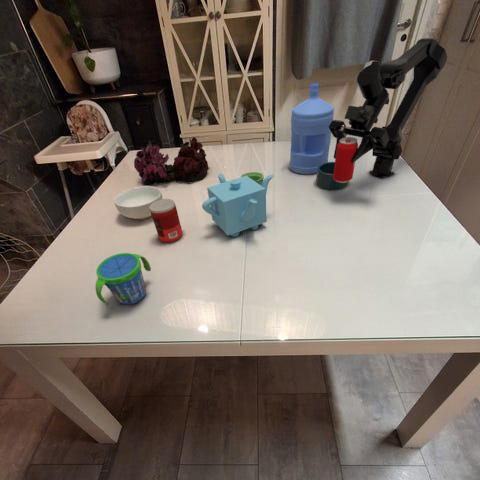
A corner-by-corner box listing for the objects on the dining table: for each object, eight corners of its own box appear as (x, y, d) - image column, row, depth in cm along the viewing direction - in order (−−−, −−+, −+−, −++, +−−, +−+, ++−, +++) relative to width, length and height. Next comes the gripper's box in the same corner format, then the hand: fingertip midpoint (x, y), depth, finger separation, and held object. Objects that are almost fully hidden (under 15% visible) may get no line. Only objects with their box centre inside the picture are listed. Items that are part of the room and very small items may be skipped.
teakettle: (204, 238, 95) (195, 193, 84) (223, 209, 107) (217, 166, 96) (261, 244, 91) (259, 197, 80) (274, 213, 102) (274, 168, 91)
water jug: (300, 158, 133) (304, 78, 112) (333, 163, 126) (344, 79, 105) (282, 171, 125) (284, 88, 104) (317, 177, 118) (325, 90, 97)
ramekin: (268, 187, 116) (268, 175, 113) (250, 195, 113) (250, 183, 109) (254, 180, 121) (253, 169, 118) (236, 188, 118) (235, 177, 115)
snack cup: (119, 322, 73) (101, 291, 66) (96, 304, 78) (77, 274, 71) (167, 287, 81) (156, 256, 73) (143, 273, 86) (131, 243, 78)
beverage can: (353, 176, 101) (360, 136, 92) (350, 184, 97) (357, 144, 88) (334, 175, 103) (340, 136, 94) (330, 183, 99) (335, 143, 90)
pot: (335, 173, 119) (337, 159, 115) (355, 184, 111) (358, 169, 107) (309, 181, 116) (311, 166, 112) (328, 193, 109) (330, 177, 105)
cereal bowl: (175, 211, 110) (170, 192, 104) (137, 231, 102) (130, 211, 97) (148, 199, 118) (143, 181, 113) (112, 216, 111) (104, 198, 106)
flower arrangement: (207, 163, 138) (201, 126, 127) (212, 181, 125) (206, 141, 114) (140, 175, 136) (128, 138, 125) (138, 193, 123) (124, 154, 112)
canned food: (187, 231, 99) (179, 199, 91) (176, 244, 94) (166, 212, 86) (166, 229, 101) (157, 197, 93) (155, 242, 96) (144, 210, 88)
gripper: (336, 88, 89) (309, 140, 93) (394, 94, 79) (361, 152, 83) (347, 112, 98) (322, 158, 102) (401, 120, 88) (371, 172, 92)
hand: (342, 160), depth 95 cm, fingers closed on beverage can, 6 cm apart
